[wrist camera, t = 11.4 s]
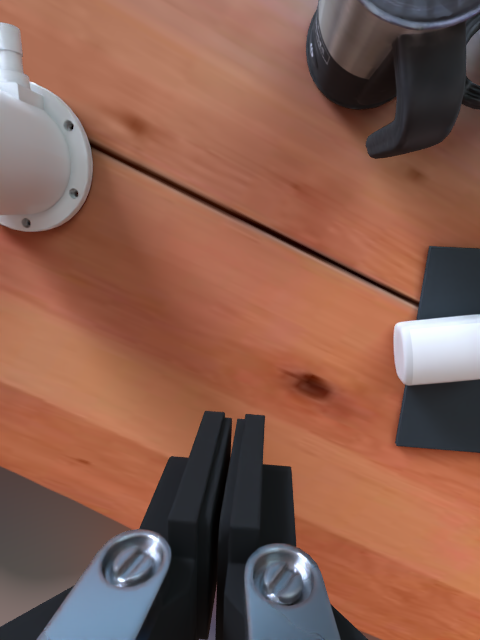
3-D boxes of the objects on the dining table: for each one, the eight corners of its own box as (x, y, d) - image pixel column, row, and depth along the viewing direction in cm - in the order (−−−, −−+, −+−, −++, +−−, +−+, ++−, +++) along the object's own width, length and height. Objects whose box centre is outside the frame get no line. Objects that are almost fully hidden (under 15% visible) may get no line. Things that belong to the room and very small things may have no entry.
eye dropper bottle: (411, 382, 32) (569, 368, 31) (398, 317, 34) (548, 301, 32) (398, 388, 36) (537, 376, 35) (387, 330, 38) (519, 316, 37)
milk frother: (284, 20, 31) (292, -140, 17) (484, -116, 28) (707, -459, 13) (360, 186, 34) (422, 170, 19) (549, 81, 30) (790, -29, 16)
